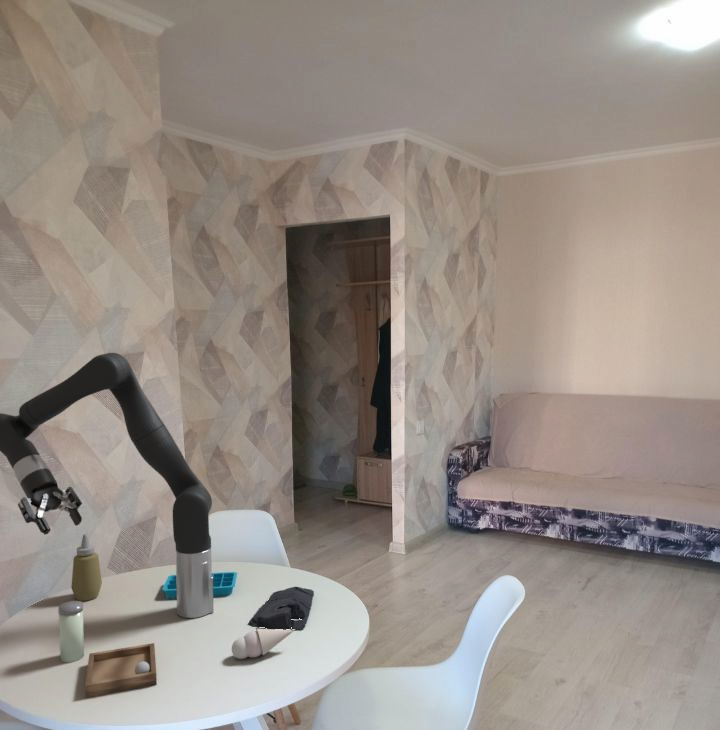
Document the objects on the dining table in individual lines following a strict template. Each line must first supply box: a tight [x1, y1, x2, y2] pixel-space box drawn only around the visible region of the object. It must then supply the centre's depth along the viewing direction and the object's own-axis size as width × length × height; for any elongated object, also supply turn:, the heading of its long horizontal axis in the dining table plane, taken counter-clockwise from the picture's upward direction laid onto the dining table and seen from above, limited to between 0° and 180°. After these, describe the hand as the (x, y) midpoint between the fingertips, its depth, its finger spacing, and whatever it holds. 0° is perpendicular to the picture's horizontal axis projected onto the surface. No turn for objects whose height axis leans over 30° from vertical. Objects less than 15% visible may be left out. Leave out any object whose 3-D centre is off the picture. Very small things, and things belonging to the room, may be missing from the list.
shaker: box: [57, 600, 85, 664], centre depth 147 cm, size 5×5×12 cm
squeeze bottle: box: [70, 533, 103, 602], centre depth 180 cm, size 8×8×18 cm
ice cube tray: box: [161, 571, 238, 599], centre depth 186 cm, size 12×20×3 cm, turn 97°
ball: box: [135, 661, 150, 674], centre depth 137 cm, size 3×3×3 cm
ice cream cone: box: [231, 628, 295, 660], centre depth 148 cm, size 6×6×15 cm
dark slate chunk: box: [247, 586, 315, 630], centre depth 171 cm, size 15×22×5 cm
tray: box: [84, 642, 158, 698], centre depth 140 cm, size 14×14×2 cm
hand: (63, 527), depth 158 cm, fingers open, 8 cm apart
